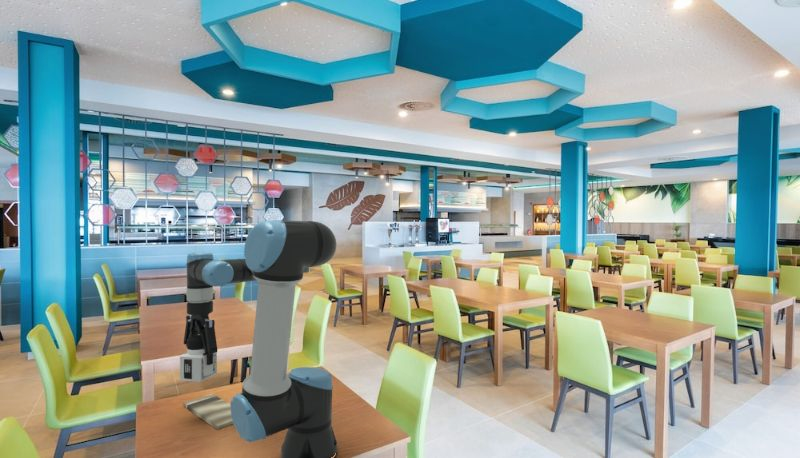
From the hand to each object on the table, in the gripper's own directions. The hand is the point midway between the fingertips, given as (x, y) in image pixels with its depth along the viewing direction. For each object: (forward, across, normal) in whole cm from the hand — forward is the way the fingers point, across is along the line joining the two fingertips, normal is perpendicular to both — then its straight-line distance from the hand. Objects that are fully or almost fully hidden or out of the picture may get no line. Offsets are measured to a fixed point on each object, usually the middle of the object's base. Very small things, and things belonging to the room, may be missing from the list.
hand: (199, 370), depth 131 cm
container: (+2, 0, 0) cm, 2 cm away
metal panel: (+16, +2, -6) cm, 17 cm away
